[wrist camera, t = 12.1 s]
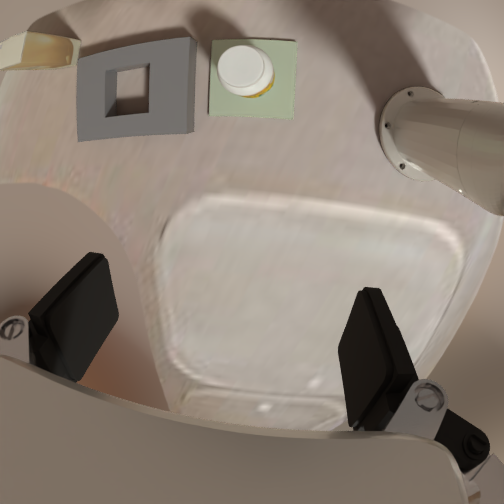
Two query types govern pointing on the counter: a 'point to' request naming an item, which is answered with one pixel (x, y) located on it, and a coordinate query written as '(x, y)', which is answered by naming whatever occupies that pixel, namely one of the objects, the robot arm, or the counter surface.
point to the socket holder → (160, 90)
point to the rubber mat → (270, 104)
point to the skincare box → (38, 52)
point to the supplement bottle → (246, 71)
